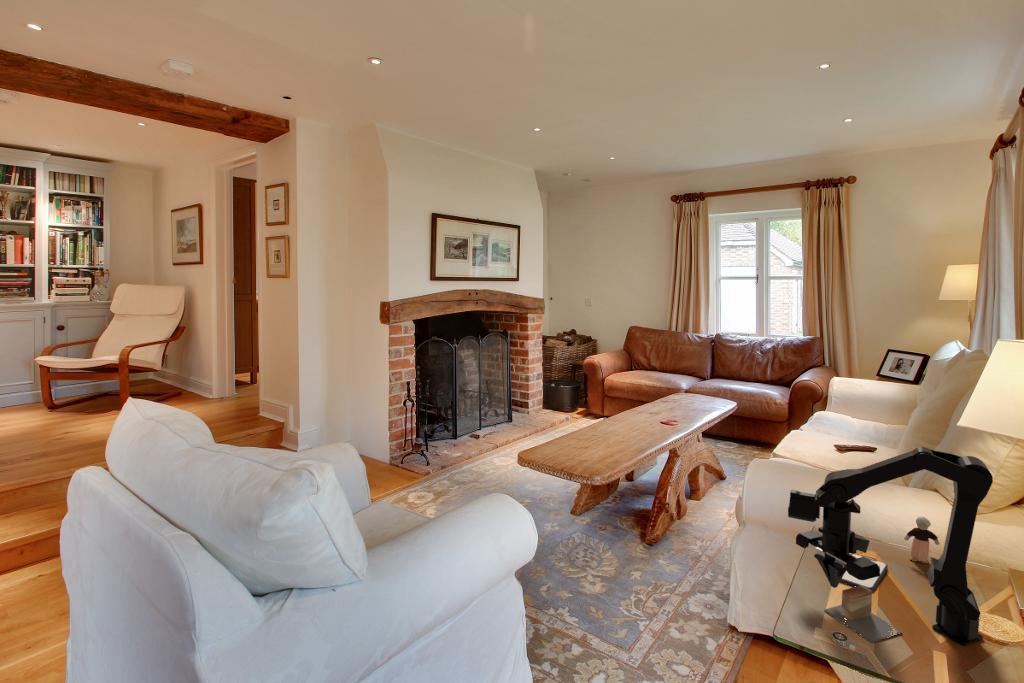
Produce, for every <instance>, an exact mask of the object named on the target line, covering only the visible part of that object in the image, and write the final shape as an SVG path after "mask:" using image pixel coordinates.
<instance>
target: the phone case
mask: <svg viewBox="0 0 1024 683" xmlns="http://www.w3.org/2000/svg"><path fill="white" fill-rule="evenodd" d="M851 555H852V556H854V557H856V558H860V557H865V558H867V559H869V560H871V561H873V562H874V563H876V564H878V566H879V567H880V576H878V577H874V578H870V579H867V580H858V579H857V578H855V577H853V576H851V575H850V574H848V572H847V571H846V572H845V574H844V575H843V577H842V579H841V581H840V583H842V582H843V583H842V584H845V583H847V584H846V585H848V584H849V585H848V586H851V585H852V586H851V587H854V586H856V587H857V586H860V585H862V586H864V587H866V588H868V589H869V590H871V591H872V592H874V591H875V589H876V588H877V587H878V585H879V583H880V582H881V580H882V579H884V578H883V577H884V575H885V574H886V573H887V571H888V568H889V567H888V564H887V563H886V562H883V561H879V560H876V559H874V558H869V557H866V556H863V555H860V554H857V553H854V554H852V553H851Z"/></svg>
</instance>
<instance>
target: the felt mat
mask: <svg viewBox="0 0 1024 683" xmlns="http://www.w3.org/2000/svg"><path fill="white" fill-rule="evenodd" d="M823 611H824V612H825V613H827V614H828V615H829V616H831V617H832V616H833V617H832V618H834V617H835V618H837V619H838V620H839V621H838V620H837V619H836V620H837V621H838V622H840V621H841V622H843V623H845V624H846V625H848V626H849V627H850V628H851V629H850V628H849V627H848V628H849V629H850V630H852V629H853V630H855V631H856V632H858V633H859V634H861V635H862V636H863V637H864V638H863V637H862V636H861V637H862V638H863V639H865V638H866V639H867V640H866V639H865V640H866V641H868V642H869V641H870V643H871V644H874V643H877V642H879V641H883V640H882V639H884V640H886V639H885V638H887V637H889V636H891V635H890V633H891V631H893V630H892V629H893V628H894V627H895V626H894V627H893V628H891V627H892V626H893V625H892V624H890V623H889V622H887V621H885V620H883V619H882V618H881V617H879V616H877V615H875V614H874V613H873V612H871V615H870V616H867V617H863V618H860V619H857V620H853V621H851V620H849V619H848V618H846V617H845V616H843V615H841V611H842V604H840V605H836V606H833V607H828V608H825V609H824V610H823ZM835 618H834V619H835ZM844 618H846V619H847V620H845V619H844ZM845 621H846V622H845ZM841 622H840V623H841ZM843 623H842V624H843ZM888 624H889V625H888ZM846 625H845V626H846ZM890 625H891V626H890ZM853 630H852V631H853ZM895 630H899V631H897V633H896V634H899V633H900V635H902V634H903V631H901V630H900V629H898V628H897V629H895ZM855 631H854V632H855ZM888 631H890V632H888ZM856 632H855V633H856ZM901 633H902V634H901ZM859 634H858V635H859ZM892 635H893V632H892ZM887 639H888V638H887Z"/></svg>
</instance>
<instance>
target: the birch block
mask: <svg viewBox="0 0 1024 683" xmlns="http://www.w3.org/2000/svg"><path fill="white" fill-rule="evenodd" d="M872 600H873V591H871V590H869V589H868V588H866V587H864V586H862V585H860V586H857V587H854V586H852V587H850V588H845V589H843V590H842V592H841V605H842V611H841V615H843V616H845V617H846V618H848V619H849V620H851V621H853V620H857V619H860V618H863V617H867V616H870V615H871V613H872V606H873V605H872V604H873V601H872Z"/></svg>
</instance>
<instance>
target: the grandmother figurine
mask: <svg viewBox="0 0 1024 683" xmlns="http://www.w3.org/2000/svg"><path fill="white" fill-rule="evenodd" d="M915 524H916V526H917V527H914V528H912V529H911V530H910V531H908V532H907V533H906V535H905V536H904V538H903V539H904V540H905V541H909V540H910V539H911V538H912V537H914V538H913V540H912V543H911V544H912V545H911V550H910V557H909V558H908V560H909V559H910V560H912V561H911V562H913V561H915V562H916V561H917V562H918V561H919V562H920V563H922V564H925V563H926V564H925V565H928V564H927V563H929V564H930V560H928V559H929V554H930V540H932V541H933V542H934V544H935V545H937V546H940V544H941V542H939V537H938V536H937V535H936V534H935V533H934V532H932V531H930V530H929V527H931V525H932V524H931V521H930V520H929V519H928V517H927V518H926V517H925V516H918V517H916V519H915ZM910 560H909V561H910ZM915 562H914V563H915Z"/></svg>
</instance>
